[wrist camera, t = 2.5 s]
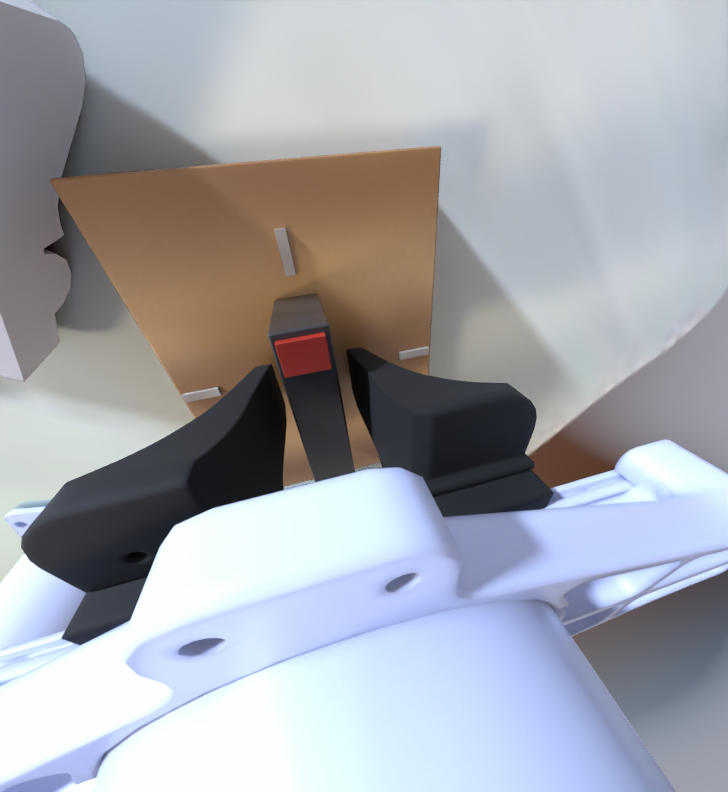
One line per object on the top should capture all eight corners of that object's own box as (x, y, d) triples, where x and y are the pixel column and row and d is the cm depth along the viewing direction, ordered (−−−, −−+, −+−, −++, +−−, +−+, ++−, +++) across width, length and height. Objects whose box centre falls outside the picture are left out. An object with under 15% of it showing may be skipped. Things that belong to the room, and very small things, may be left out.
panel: (407, 421, 19) (425, 453, 16) (249, 458, 17) (242, 499, 15) (407, 162, 11) (444, 143, 8) (111, 189, 9) (41, 177, 7)
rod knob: (342, 423, 13) (357, 485, 10) (311, 430, 13) (317, 495, 10) (317, 292, 10) (330, 326, 7) (273, 299, 9) (265, 337, 6)
